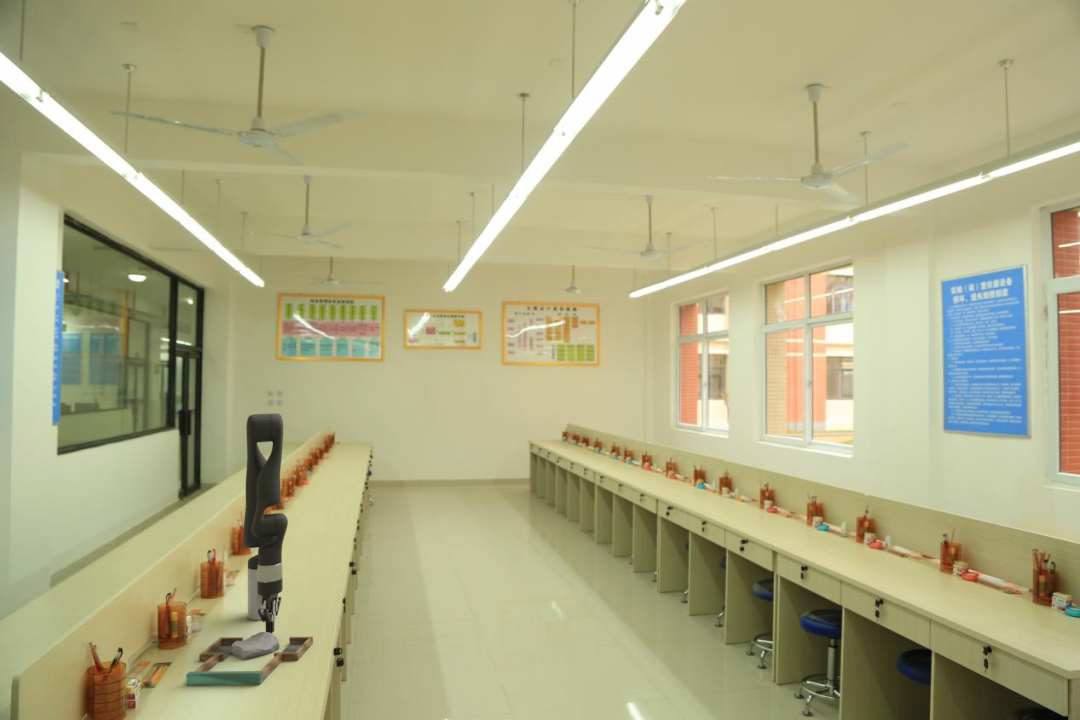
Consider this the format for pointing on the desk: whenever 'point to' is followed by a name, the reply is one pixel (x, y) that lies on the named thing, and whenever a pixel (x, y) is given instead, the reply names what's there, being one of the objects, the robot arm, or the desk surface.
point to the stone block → (255, 645)
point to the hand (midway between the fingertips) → (269, 632)
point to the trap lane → (222, 651)
